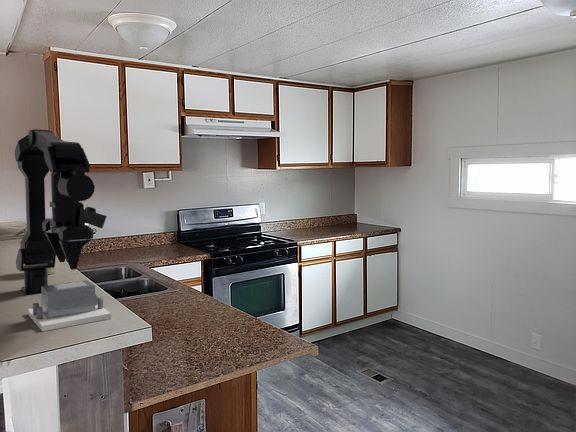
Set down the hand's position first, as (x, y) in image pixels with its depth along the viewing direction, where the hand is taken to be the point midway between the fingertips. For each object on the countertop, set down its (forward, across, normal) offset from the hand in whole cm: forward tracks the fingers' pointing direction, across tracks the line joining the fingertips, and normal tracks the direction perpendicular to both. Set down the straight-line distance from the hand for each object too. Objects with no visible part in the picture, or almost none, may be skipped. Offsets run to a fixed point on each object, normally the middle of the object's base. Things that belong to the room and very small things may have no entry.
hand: (67, 265), depth 109 cm
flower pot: (+12, +48, -5) cm, 49 cm away
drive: (+11, 0, 0) cm, 11 cm away
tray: (+12, 0, 0) cm, 12 cm away
